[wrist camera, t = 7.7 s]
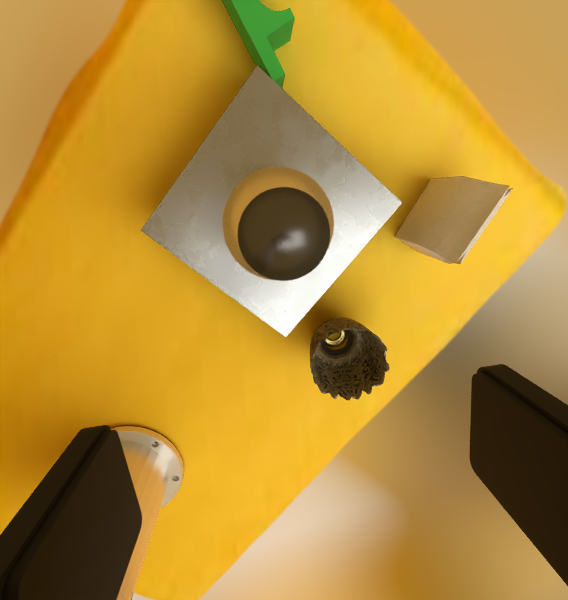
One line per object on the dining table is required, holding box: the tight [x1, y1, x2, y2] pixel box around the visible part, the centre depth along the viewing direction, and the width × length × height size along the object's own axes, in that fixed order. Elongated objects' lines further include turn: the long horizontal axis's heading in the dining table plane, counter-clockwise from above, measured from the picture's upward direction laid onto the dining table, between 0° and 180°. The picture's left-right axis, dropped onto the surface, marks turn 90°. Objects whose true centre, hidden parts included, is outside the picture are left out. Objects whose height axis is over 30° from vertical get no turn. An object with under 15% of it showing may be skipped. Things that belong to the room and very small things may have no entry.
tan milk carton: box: [394, 176, 513, 264], centre depth 32 cm, size 4×7×10 cm, turn 151°
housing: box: [141, 65, 402, 337], centre depth 33 cm, size 16×16×6 cm
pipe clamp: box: [222, 0, 294, 88], centre depth 29 cm, size 11×4×5 cm, turn 30°
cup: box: [310, 318, 389, 400], centre depth 37 cm, size 8×7×8 cm
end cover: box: [222, 167, 334, 281], centre depth 22 cm, size 7×7×11 cm
